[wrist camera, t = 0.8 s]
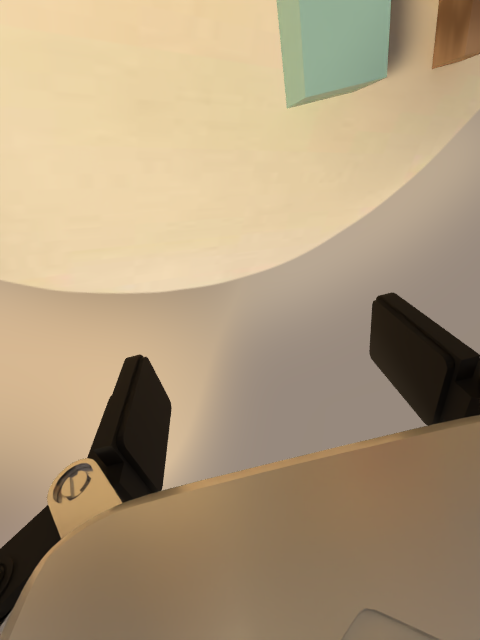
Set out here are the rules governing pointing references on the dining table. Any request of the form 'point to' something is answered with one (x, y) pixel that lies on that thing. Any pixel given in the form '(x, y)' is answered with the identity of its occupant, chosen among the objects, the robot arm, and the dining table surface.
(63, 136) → the dining table surface
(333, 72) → the block
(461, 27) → the batten
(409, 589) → the robot arm
